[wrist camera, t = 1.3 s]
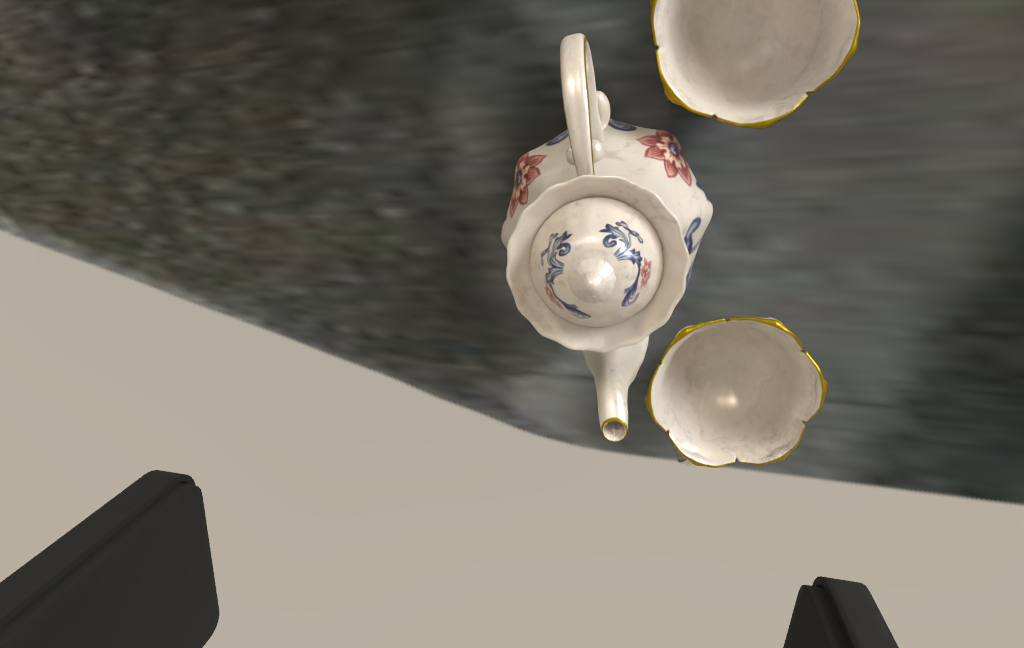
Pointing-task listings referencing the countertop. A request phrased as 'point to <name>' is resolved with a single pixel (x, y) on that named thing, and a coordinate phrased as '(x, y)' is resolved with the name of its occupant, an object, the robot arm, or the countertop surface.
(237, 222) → the countertop surface
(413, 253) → the countertop surface
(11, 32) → the countertop surface
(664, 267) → the chinaware
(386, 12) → the countertop surface
